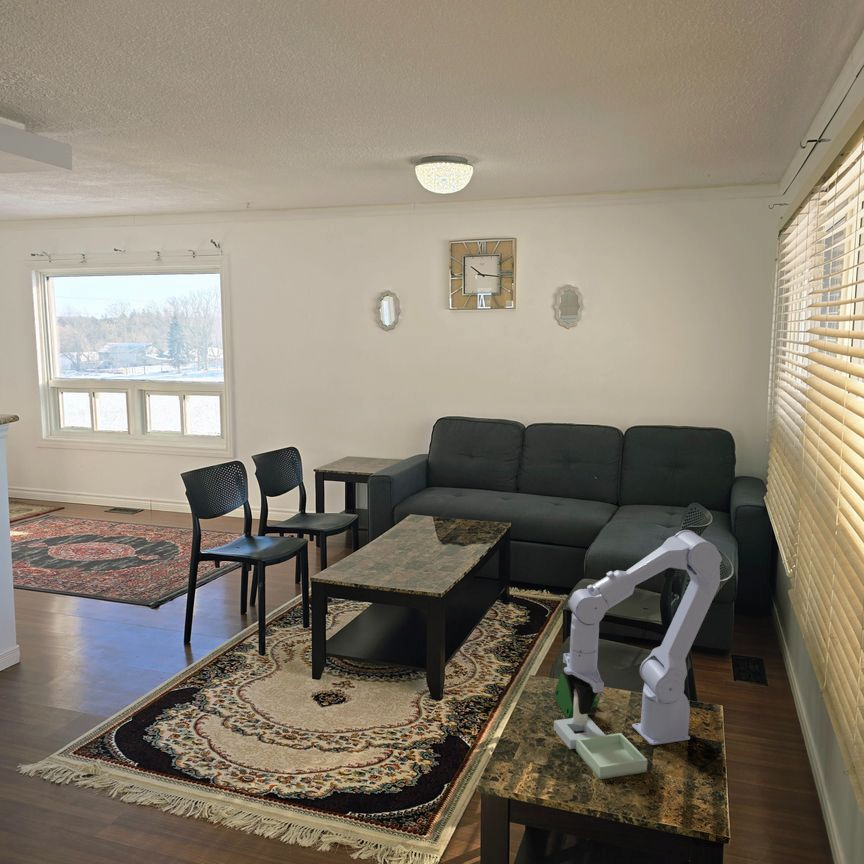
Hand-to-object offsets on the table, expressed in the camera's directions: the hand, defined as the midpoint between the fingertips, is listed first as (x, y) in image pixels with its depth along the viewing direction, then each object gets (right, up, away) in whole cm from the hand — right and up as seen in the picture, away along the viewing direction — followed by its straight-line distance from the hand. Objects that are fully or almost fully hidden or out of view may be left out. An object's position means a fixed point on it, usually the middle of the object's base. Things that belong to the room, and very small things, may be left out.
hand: (580, 708), depth 163 cm
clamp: (+1, -5, +13) cm, 14 cm away
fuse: (0, -3, 0) cm, 3 cm away
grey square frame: (0, -6, +1) cm, 6 cm away
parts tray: (+4, -8, -8) cm, 12 cm away
